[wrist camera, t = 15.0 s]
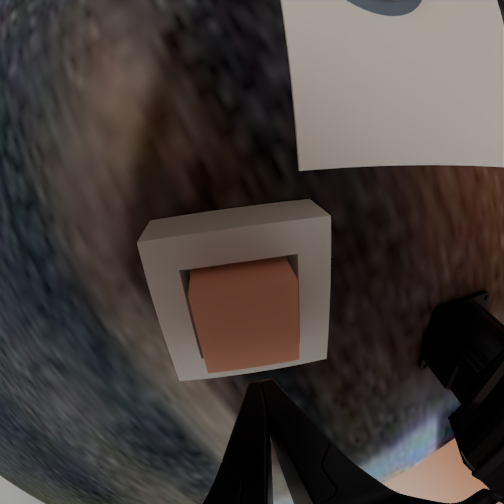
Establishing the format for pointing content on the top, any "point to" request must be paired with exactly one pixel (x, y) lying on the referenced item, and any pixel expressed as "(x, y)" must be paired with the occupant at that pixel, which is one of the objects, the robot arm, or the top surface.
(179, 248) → the button housing
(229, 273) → the button
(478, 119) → the drawing paper
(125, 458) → the top surface
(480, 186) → the top surface
